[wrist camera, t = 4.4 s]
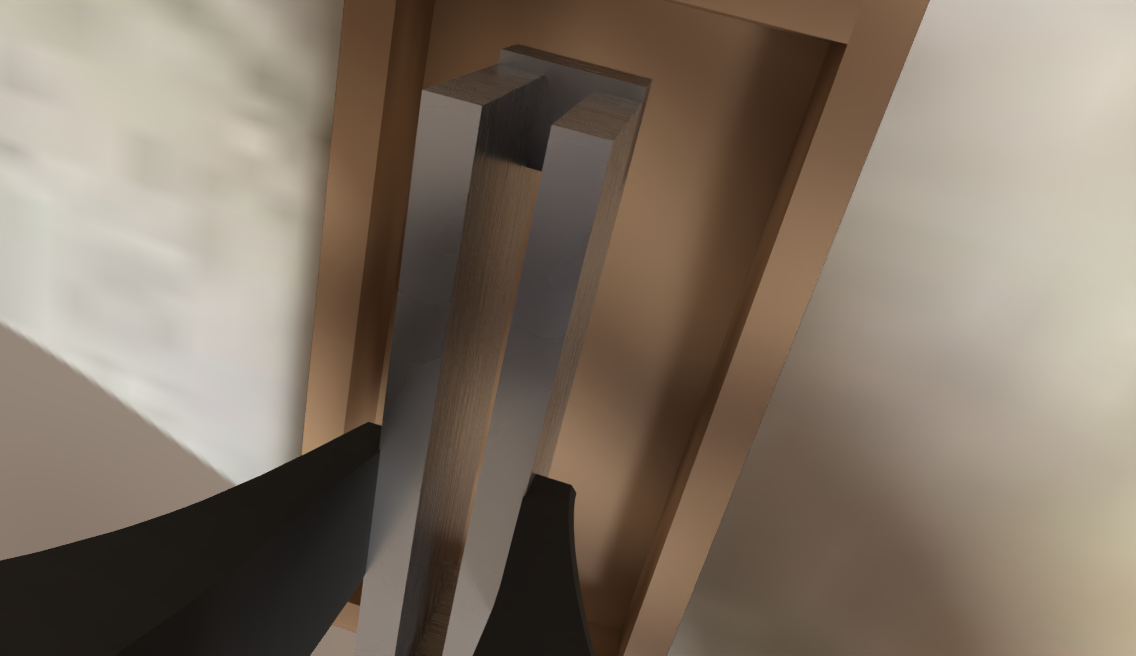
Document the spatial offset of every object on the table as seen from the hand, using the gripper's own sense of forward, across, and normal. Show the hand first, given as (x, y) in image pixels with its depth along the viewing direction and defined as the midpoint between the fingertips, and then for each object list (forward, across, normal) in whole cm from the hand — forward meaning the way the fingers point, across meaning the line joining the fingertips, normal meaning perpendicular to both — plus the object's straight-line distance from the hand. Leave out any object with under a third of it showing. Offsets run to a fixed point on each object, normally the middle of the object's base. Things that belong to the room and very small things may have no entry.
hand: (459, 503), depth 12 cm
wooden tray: (+7, 0, 0) cm, 7 cm away
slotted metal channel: (+3, 0, 0) cm, 3 cm away
